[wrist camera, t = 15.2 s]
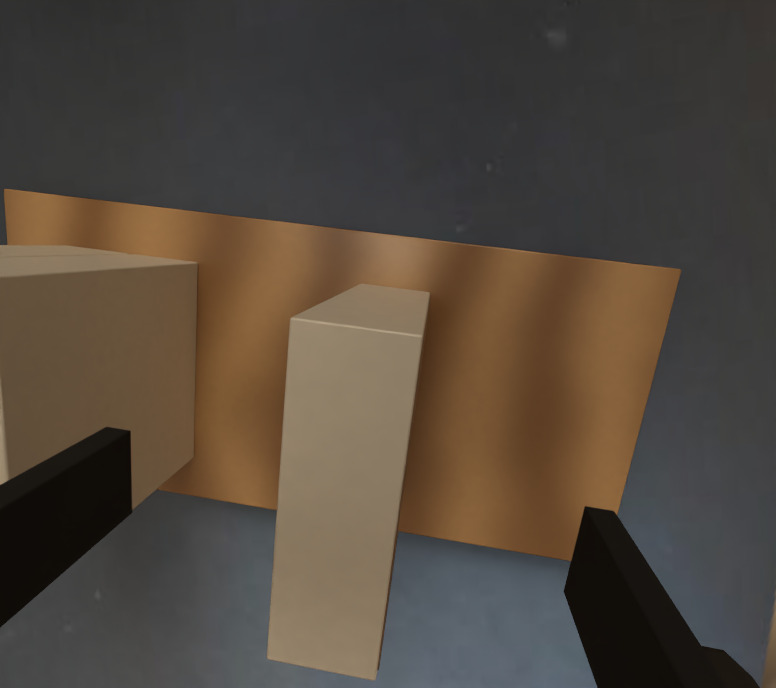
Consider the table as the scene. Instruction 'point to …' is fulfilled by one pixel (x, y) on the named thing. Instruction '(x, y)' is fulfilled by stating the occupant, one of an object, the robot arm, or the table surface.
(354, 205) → the table surface
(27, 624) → the table surface
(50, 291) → the matching cream books
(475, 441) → the shelf board
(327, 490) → the cream book
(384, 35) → the table surface
